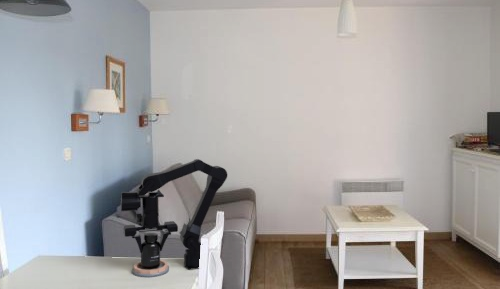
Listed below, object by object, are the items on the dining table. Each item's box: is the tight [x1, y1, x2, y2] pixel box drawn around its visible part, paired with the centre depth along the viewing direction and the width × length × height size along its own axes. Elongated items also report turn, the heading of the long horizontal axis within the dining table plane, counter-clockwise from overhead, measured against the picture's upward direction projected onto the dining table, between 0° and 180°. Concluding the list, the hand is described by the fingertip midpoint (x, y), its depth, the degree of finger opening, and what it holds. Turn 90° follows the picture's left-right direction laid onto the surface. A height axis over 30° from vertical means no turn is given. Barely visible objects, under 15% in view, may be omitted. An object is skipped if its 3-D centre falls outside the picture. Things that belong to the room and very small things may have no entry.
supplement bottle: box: [140, 232, 161, 270], centre depth 156 cm, size 7×7×12 cm
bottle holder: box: [132, 259, 170, 278], centre depth 157 cm, size 13×13×2 cm
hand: (151, 252), depth 156 cm, fingers closed on supplement bottle, 7 cm apart
